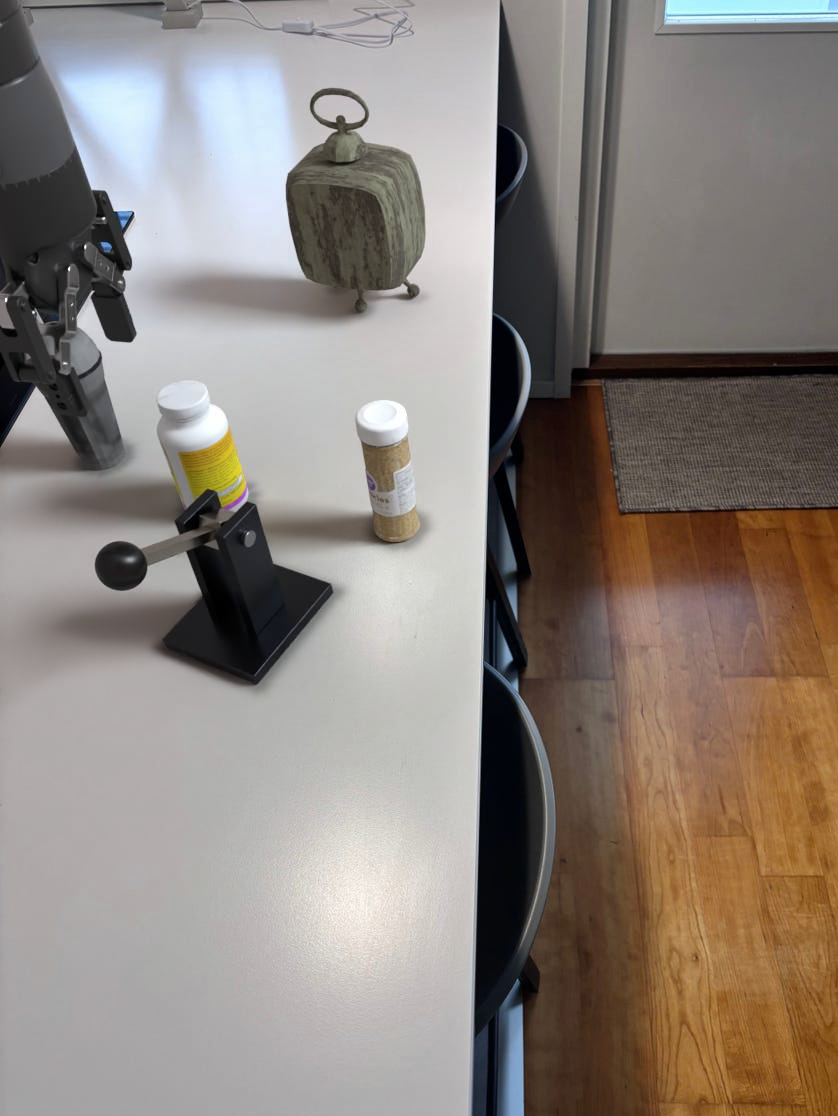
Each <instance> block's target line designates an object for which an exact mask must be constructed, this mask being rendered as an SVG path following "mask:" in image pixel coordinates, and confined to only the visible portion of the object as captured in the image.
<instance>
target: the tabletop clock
mask: <svg viewBox="0 0 838 1116" xmlns="http://www.w3.org/2000/svg"><path fill="white" fill-rule="evenodd" d="M324 96H342V97H346V98H350V99H351V100H354V101H355V102H356V103H358V104H359V105H360V106H361V107H362V109H363V111H364V117H363V118H362V119H361V120H359V121H356V122H347V120H346V117H345V116H344V115H343V114H339V115H337V116H336V117H335V121H330V120H327V119H325V118H323V117H321V116H320V115H319V114H317V112H316V110H315V104H316V102H317V101H318V100H319V99H320V98H322V97H324ZM309 110H310V113H311V115H312V116H313V118H314V119H315V120H316V121H317V122H318V123H319V124H320V125H322V126H325V127H327V128H329V129H332V130H336V131H333V132H332V133H331V134H330V135H329V136H328V137H327V138H326V140H324V142H322V143H319V144H317V145H316V146H313V147H312V148H311V150H310V151H309V152H308V153H306V154H305V156H304V157H303V158H302V159H301V160H300V161H298V162H297V164H296V165H295V166H294V167H292V169H291V170H290V171H288V173H287V175H286V181H285V202H286V210H287V218H288V224H289V225H288V226H289V231H290V234H291V237H292V242H293V246H294V250H295V254H296V258H297V261H298V264H299V267H300V269H301V271H302V273H303V275H304V277H305V279H307V280H309V281H311V282H312V283H316V284H319V285H322V286H328V287H332V288H335V289H339V288H340V289H346V290H355V291H356V292H357V299H356V300H355V301H354V303H353V304H354V305H353V306H354V309H355V310H356V312H358V313H364V312H366V310H367V308H368V303H367V302H366V300H364V296H363V295H364V291H371V292H372V291H373V292H376V291H378V292H380V291H391V290H394V289H397V288H400V287H402V285H404V286H405V287H406V288H407V289H406V292H407V294H408V296H409V297H412V298H416V297H418V295H419V294H420V291H421V289H420V287H419V285H418V284H416V283H410V280H408V276H409V275H410V274H411V272H412V271H413V269H414V268H415V266H416V265H417V264H418V262H419V261H420V259H421V258H422V256H423V253H424V250H425V246H426V233H427V232H426V207H425V201H424V195H423V188H422V183H421V178H420V176H419V175H420V174H419V172H418V169H417V168H418V167H417V166H416V164H415V162H414V159H413V157H412V155H411V154H410V153H408V152H406V151H404V150H402V149H400V148H397V147H394V146H391V145H384V144H378V143H372V142H367V141H365V140H364V139H363V138H362V136H361V134H360V133H358V132H357V131H354V130H358V129H360V128H362V127H363V126H365V125H366V123H367V122H368V120H369V118H370V111H369V107H368V105H367V103H366V102H365V100H364V99H363V98H362V97H360V95H359V94H357V93H356V92H354V91H352V90H350V89H345V88H341V87H326V88H321V89H320V90H318V91H316V92H315V93H314V94H313V96H312V97H311V98H310V101H309Z"/></svg>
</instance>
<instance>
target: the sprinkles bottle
mask: <svg viewBox="0 0 838 1116" xmlns="http://www.w3.org/2000/svg"><path fill="white" fill-rule="evenodd" d="M406 410H407V409H405V407H404V406H403V405H402V404H400V403H398V402H397V401H393V400H388V399H380V400H379V399H378V400H374V401H370V402H368V403H366V404H364V405H362V406H361V407H360V408H359V409H358V410H357V412H356V413H355V417H354V421H355V422H354V423H355V429H356V434H357V437H358V438H359V441H360V444H361V449H362V455H363V461H364V467H365V470H364V471H365V478H366V484H367V489H368V497H369V502H370V506H371V510H372V517H373V530H374V533H375V535H376V536H377V537H378V538H380V539H381V540H383V541H386V542H391V543H398V542H399V543H401V542H404V541H407V540H409V539H411V538H413V537H414V536H415V535H416V534H417V532H419V530H420V527H421V521H420V518H419V515H418V508H417V492H416V484H415V477H414V476H415V475H414V470H413V469H414V467H413V461H412V460H413V459H412V455H411V450H410V443H409V420H408V415H407V411H406Z"/></svg>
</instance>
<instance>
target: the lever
mask: <svg viewBox="0 0 838 1116" xmlns="http://www.w3.org/2000/svg"><path fill="white" fill-rule="evenodd" d="M235 513H236V512H233V511H230V510H227V509H224V508H220V509H217V510H214V511H211V512H208V513H205V514H203V515H200V516H199V528H197V529H194V530H192V531H189V532H186V533H183V534H180V535H179V534H177V535H175V536H172V537H169V538H167V539H164V540H161V541H159V542H155V543H153V544H150V545H147V546H144V547H142V548H140V547H138V546H137V545H135V544H134V543H132V542H128V541H124V540H116V541H112V542H109V543H107V544H106V545H104V546H103V547H101V549H100V550H99V551H98V553H97V554H96V557H95V559H94V571H95V574H96V577H97V579H98V580H99V581H100V582H101V584H103V585H104V586H105V587H107V588H108V589H111V590H114V591H116V592H117V591H118V592H125V591H131V590H133V589H135V588H137V587H138V586H139V585H141V584H142V583H143V581H144V580H145V578H146V576H147V573H148V567H150V566H152V565H154V564H157V563H159V562H162V561H165V560H167V559H170V558H173V557H176V556H178V555H180V554H183V553H186V551H188V550H191V549H193V548H196V547H199V546H201V545H206V546H209V547H212V548H214V549H217V550H219V547H218V545H217V542H216V539H215V536H214V534H215V533H216V532H217V531H218V530H219V529H220V528H221V527H222V526H223V525H224V524H225V523H226V522H227V521H228V520H229V519H230V518H231V517H232V516H233V515H234V514H235Z"/></svg>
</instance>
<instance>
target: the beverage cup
mask: <svg viewBox="0 0 838 1116" xmlns="http://www.w3.org/2000/svg"><path fill="white" fill-rule="evenodd" d="M35 311H36V312H37V317H36V319H37V321H38V322H39V323H41V324H56V323H57V322H58V321H59V320H56V321H55V320H54V321H48V322H45V323H44V321H43V319H42V318H41V316H40V314H39V312H38V310H37V309H36V308H35ZM43 340H44V343H45V345H46V348H47V350H48V353H49V355H54V340H53V338H52V337H51V336H44V337H43ZM70 345H71V367H74V368H75V371H76V373H77V375H78V378H79V380H80V382H81V385H82V387H83V389H84V392H85V394H86V396H87V399H88V401H89V403H90V406H91V409H90V411H89V412H88V414H87V415H86V416H85V417H76V416H66V415H62V414H61V413H58V412H57V411H56V410H55V409H54V407H53V405H52V402H51V401H50V399H49V398H50V397H49V396H48V394H47V392H46V390H45V388H44V386H43V384H42V383H34V382H32V383H33V385H35V387H36V389H38V392H39V393H41V395H42V396H43V397H44V400H45V401H46V402H47V404H48V406H49V408H50V410H51V411H52V413H53V415H54V417H55V418H56V420H57V422H58V423H59V425H60V427H61V429H62V430H63V432H64V435H65V436H66V438H67V439H68V441H69V443H70V445H71V446H72V449H73V450H74V451H75V454H77V456H78V457H79V459H80V461H81V462H82V465H83V466H84V467H85V468H86V469H89V470H92V471H104V470H107V469H110V468H113V467H115V466H117V465H118V464H120V463H121V462H122V461H123V460H124V458H125V455H126V450H125V448H124V447H125V446H124V444H123V443H124V442H123V437H122V434H121V430H120V426H119V423H118V420H117V417H116V412H115V410H114V406H113V403H112V400H111V399H112V398H111V396H110V395H111V394H110V392H109V389H108V386H107V385H108V384H107V382H106V378H105V370H104V363H103V355H102V352H101V350H100V349H99V348H98V346H97V344H96V343H95V341H94V340H93V339H92V338H91V336H90V335H88V333H86V331H84V330H83V329H82V328H80V327H78V326H77V334H76V336H75V337H74V338H72V339H71V341H70ZM23 354H24V361H26V360H27V357H26V353H23Z"/></svg>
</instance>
